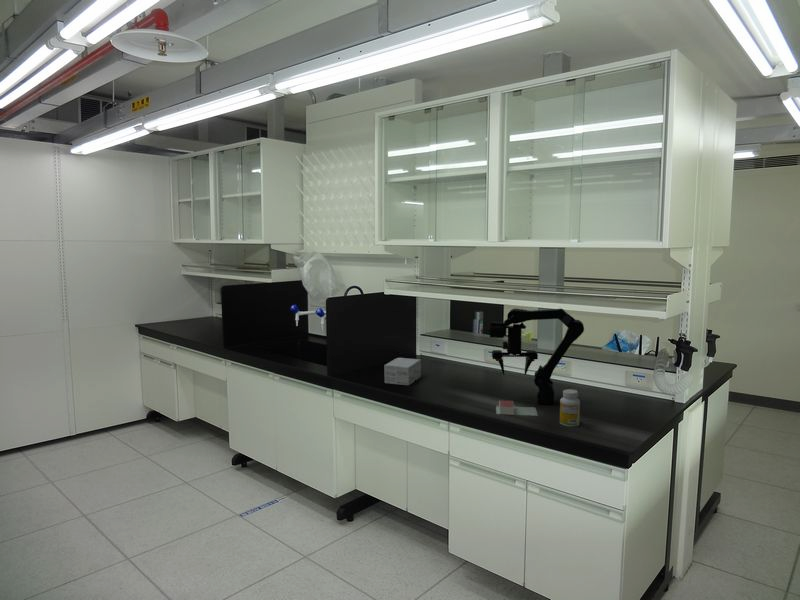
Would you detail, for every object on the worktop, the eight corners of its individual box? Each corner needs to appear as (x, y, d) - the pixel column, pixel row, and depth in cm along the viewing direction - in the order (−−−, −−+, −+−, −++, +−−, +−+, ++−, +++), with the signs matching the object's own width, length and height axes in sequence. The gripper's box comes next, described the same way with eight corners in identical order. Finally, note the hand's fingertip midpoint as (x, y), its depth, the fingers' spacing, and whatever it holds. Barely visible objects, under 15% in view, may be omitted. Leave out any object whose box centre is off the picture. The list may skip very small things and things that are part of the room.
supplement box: (397, 374, 276) (397, 357, 274) (421, 377, 270) (421, 359, 269) (383, 383, 260) (383, 364, 259) (408, 385, 255) (408, 366, 254)
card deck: (513, 414, 210) (514, 406, 210) (499, 414, 211) (499, 406, 210) (512, 408, 218) (512, 400, 217) (499, 407, 219) (499, 400, 218)
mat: (535, 408, 218) (535, 407, 218) (537, 416, 209) (537, 415, 209) (495, 407, 221) (495, 406, 221) (496, 415, 211) (496, 413, 211)
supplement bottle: (565, 419, 205) (566, 387, 204) (583, 424, 200) (584, 391, 198) (556, 424, 200) (556, 391, 199) (573, 429, 195) (574, 395, 194)
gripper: (533, 335, 232) (533, 369, 234) (490, 335, 234) (490, 369, 236) (538, 339, 221) (537, 376, 223) (492, 339, 223) (492, 376, 225)
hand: (514, 374), depth 227 cm, fingers open, 9 cm apart
